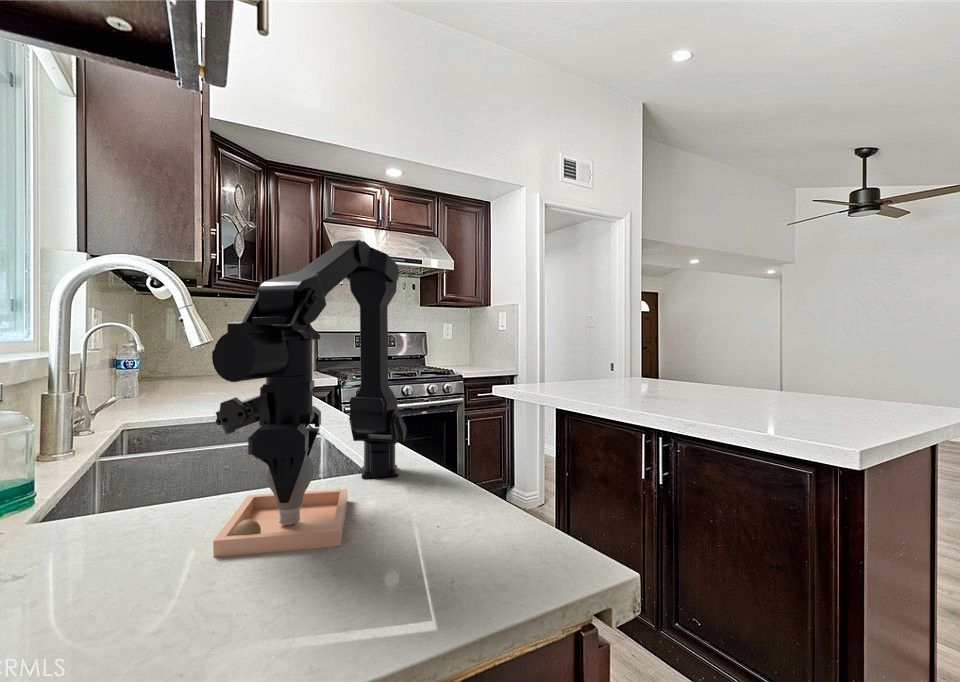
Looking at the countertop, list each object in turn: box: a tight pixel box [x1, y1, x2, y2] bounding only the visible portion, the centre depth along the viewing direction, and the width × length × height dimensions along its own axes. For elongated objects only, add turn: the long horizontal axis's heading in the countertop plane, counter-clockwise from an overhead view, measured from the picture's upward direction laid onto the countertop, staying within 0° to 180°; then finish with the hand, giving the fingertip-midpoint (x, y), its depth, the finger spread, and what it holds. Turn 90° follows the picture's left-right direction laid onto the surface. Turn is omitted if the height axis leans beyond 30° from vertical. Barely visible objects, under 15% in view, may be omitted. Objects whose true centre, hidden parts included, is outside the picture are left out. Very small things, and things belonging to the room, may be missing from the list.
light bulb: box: [265, 455, 315, 526], centre depth 65 cm, size 6×6×10 cm
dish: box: [212, 488, 349, 558], centre depth 65 cm, size 16×14×2 cm
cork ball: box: [233, 519, 261, 536], centre depth 59 cm, size 3×3×3 cm
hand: (290, 491), depth 65 cm, fingers open, 8 cm apart
